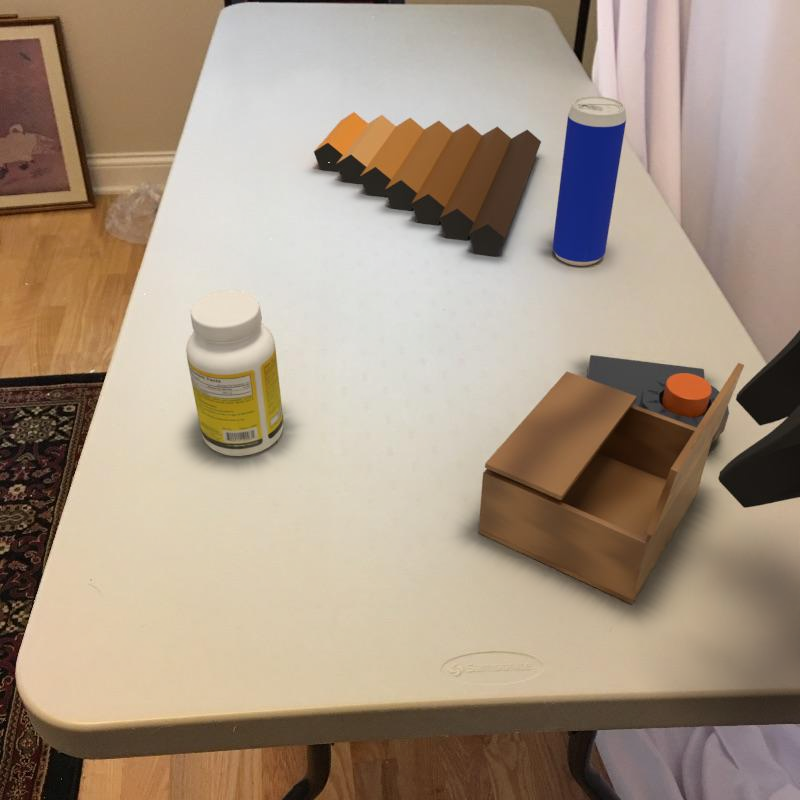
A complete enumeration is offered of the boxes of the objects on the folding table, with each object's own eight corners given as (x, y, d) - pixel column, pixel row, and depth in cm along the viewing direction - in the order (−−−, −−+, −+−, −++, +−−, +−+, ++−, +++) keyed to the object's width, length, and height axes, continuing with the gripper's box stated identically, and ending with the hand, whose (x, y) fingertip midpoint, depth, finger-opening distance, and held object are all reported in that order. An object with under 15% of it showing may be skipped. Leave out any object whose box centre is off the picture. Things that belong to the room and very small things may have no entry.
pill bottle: (252, 396, 72) (237, 274, 65) (300, 433, 68) (290, 308, 61) (185, 430, 68) (161, 305, 62) (231, 471, 65) (212, 343, 58)
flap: (713, 425, 59) (718, 427, 59) (645, 533, 52) (652, 536, 52) (738, 362, 56) (744, 364, 56) (670, 468, 48) (677, 471, 48)
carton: (697, 493, 63) (716, 424, 59) (631, 604, 55) (649, 533, 52) (556, 437, 68) (566, 370, 64) (477, 532, 60) (483, 463, 56)
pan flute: (503, 257, 89) (539, 158, 108) (505, 226, 87) (542, 131, 106) (267, 226, 94) (341, 137, 113) (264, 196, 92) (340, 110, 111)
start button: (705, 394, 68) (710, 375, 67) (707, 421, 65) (713, 402, 64) (661, 389, 68) (666, 370, 67) (662, 415, 66) (666, 396, 65)
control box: (714, 383, 73) (722, 352, 71) (721, 464, 65) (731, 432, 64) (588, 367, 75) (593, 337, 73) (581, 445, 67) (586, 413, 65)
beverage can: (604, 244, 91) (627, 97, 82) (604, 270, 87) (628, 117, 78) (552, 240, 92) (570, 93, 83) (550, 265, 88) (568, 113, 79)
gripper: (939, 177, 44) (708, 329, 52) (964, 304, 32) (665, 472, 41) (1030, 283, 44) (788, 416, 53) (1085, 443, 33) (767, 579, 42)
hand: (740, 447), depth 47 cm, fingers open, 7 cm apart
